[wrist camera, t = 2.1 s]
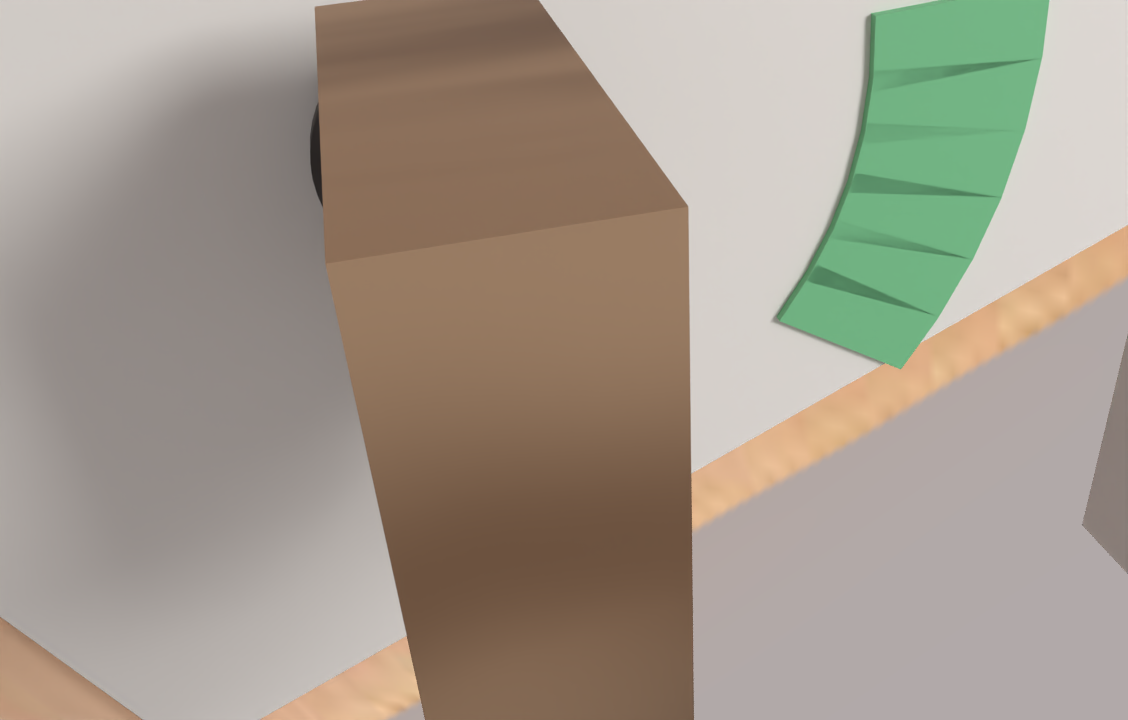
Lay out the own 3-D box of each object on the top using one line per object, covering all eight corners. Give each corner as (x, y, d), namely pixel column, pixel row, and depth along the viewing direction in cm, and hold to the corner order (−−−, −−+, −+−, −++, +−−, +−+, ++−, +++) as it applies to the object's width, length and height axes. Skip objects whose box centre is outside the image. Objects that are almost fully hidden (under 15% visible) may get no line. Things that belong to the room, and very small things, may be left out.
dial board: (-677, 45, 17) (-763, 78, 16) (883, -1116, 14) (946, -1205, 13) (216, 723, 29) (211, 775, 28) (1167, 178, 26) (1217, 207, 25)
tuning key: (269, -35, 18) (235, 278, 8) (534, -67, 18) (767, 193, 9) (399, 570, 25) (455, 1081, 16) (585, 533, 26) (740, 1007, 16)
